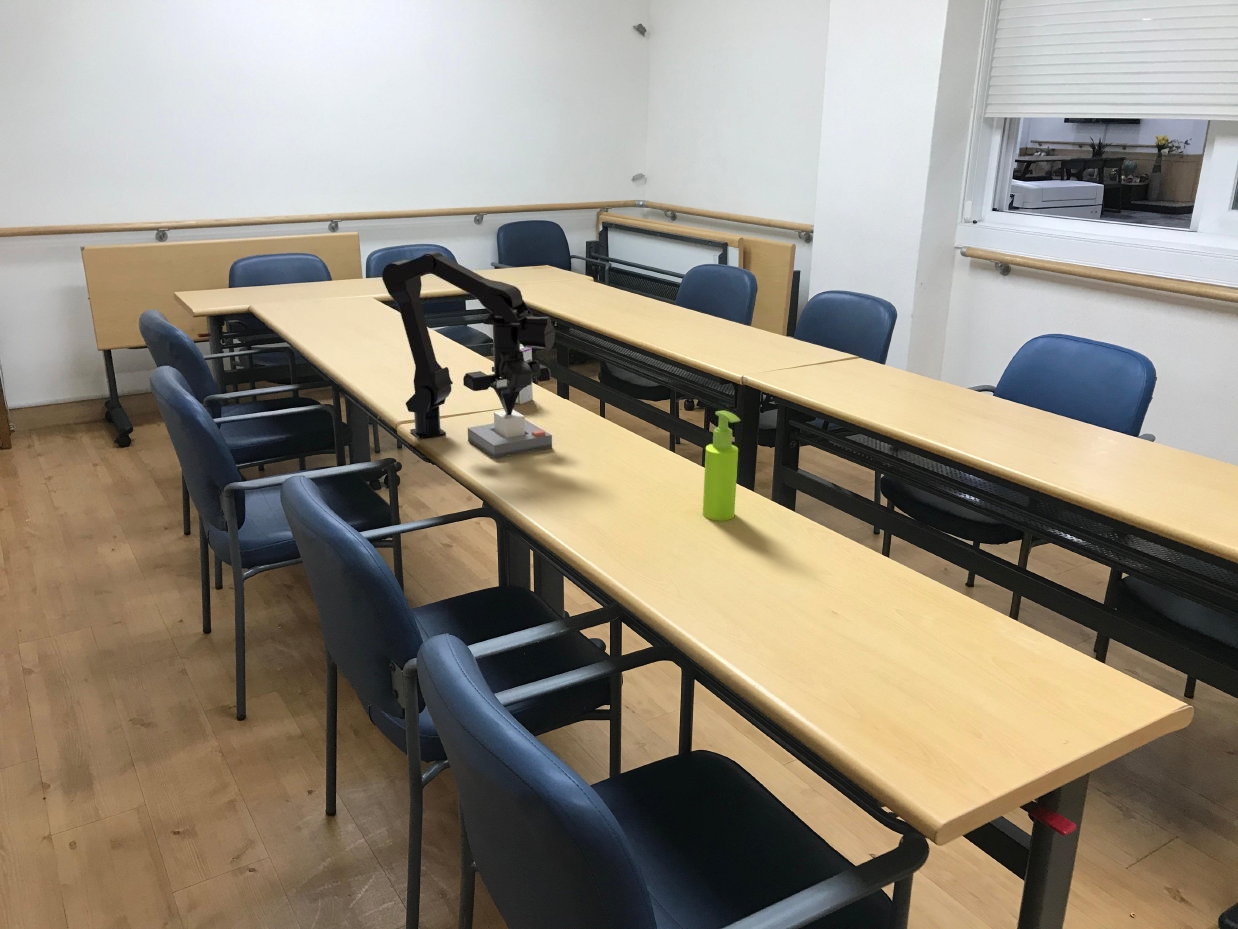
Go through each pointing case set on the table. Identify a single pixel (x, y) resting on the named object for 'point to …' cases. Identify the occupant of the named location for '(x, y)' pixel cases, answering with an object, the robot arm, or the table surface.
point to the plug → (509, 424)
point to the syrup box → (527, 392)
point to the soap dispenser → (721, 471)
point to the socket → (509, 440)
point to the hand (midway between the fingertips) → (508, 414)
